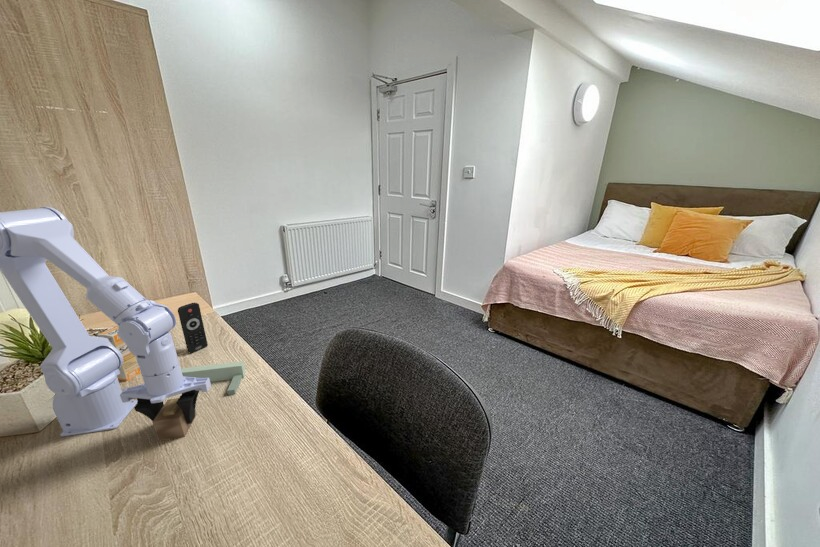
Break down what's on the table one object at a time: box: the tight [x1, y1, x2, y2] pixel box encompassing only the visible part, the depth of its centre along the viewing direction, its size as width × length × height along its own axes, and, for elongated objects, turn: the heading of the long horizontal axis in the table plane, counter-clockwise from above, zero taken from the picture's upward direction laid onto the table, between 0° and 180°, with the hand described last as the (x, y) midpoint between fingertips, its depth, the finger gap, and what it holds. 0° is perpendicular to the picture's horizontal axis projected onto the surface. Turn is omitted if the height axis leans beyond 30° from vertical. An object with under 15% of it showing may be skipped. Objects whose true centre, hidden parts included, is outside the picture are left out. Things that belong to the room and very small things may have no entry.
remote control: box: [177, 302, 208, 355], centre depth 87 cm, size 5×2×15 cm, turn 149°
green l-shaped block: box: [180, 360, 247, 396], centre depth 74 cm, size 17×8×4 cm, turn 103°
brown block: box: [152, 397, 198, 442], centre depth 63 cm, size 4×6×6 cm
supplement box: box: [96, 325, 141, 382], centre depth 78 cm, size 8×5×13 cm, turn 168°
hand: (177, 422), depth 63 cm, fingers closed on brown block, 4 cm apart
